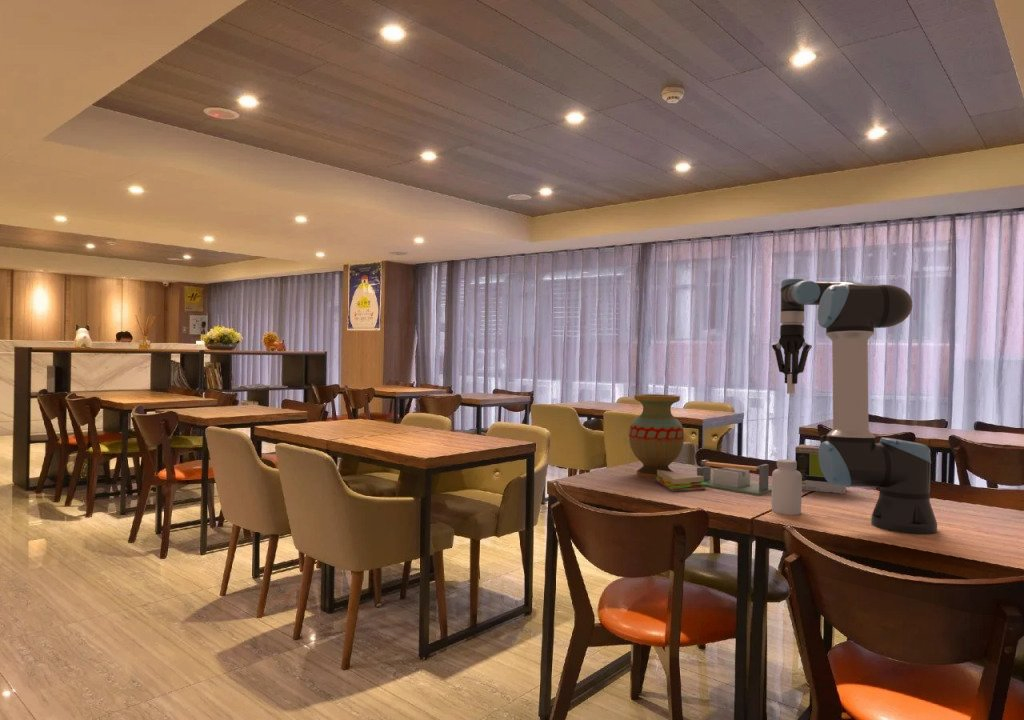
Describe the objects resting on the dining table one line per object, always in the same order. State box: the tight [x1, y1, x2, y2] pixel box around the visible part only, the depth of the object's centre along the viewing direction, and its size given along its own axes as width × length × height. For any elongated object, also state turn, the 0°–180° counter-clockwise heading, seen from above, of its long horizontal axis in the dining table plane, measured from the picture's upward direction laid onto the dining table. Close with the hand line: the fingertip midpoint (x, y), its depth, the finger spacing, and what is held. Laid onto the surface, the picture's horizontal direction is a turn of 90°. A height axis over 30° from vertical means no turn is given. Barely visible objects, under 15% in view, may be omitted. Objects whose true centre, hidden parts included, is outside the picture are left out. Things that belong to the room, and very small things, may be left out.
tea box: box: [794, 444, 847, 494], centre depth 232 cm, size 15×10×15 cm, turn 58°
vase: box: [628, 393, 685, 479], centre depth 252 cm, size 20×20×30 cm
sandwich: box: [655, 470, 708, 492], centre depth 232 cm, size 15×20×5 cm
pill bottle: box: [771, 459, 803, 516], centre depth 196 cm, size 8×8×15 cm
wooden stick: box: [698, 459, 759, 472], centre depth 234 cm, size 21×4×2 cm, turn 44°
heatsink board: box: [696, 463, 772, 497], centre depth 234 cm, size 28×16×9 cm, turn 44°
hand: (790, 393), depth 234 cm, fingers closed
